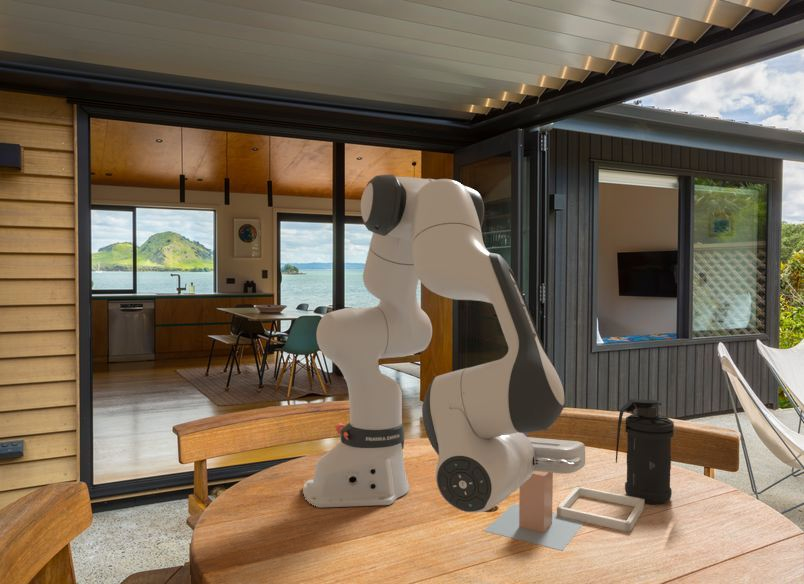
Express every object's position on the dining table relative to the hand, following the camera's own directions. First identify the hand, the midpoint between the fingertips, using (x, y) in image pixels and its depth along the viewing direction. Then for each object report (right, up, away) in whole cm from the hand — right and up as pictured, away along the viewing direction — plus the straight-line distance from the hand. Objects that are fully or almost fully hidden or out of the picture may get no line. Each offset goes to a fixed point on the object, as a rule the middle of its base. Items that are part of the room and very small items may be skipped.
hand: (528, 442), depth 100 cm
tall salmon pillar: (+3, -17, +9) cm, 19 cm away
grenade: (+29, -18, +26) cm, 43 cm away
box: (+17, -18, +15) cm, 29 cm away
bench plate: (+3, -18, +9) cm, 21 cm away
